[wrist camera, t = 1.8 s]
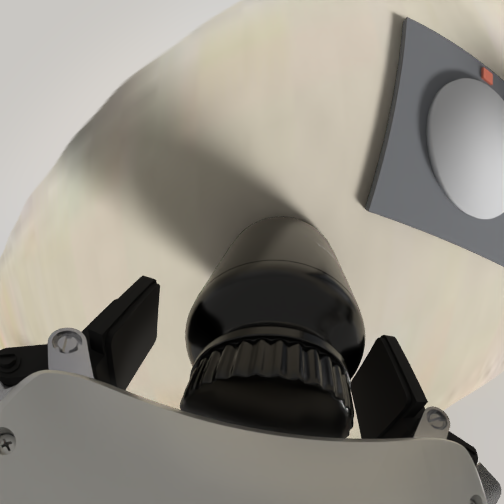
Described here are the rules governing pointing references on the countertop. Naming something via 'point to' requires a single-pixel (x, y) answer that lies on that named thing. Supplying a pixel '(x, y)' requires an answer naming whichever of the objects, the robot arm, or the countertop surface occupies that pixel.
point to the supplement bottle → (276, 335)
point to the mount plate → (444, 146)
